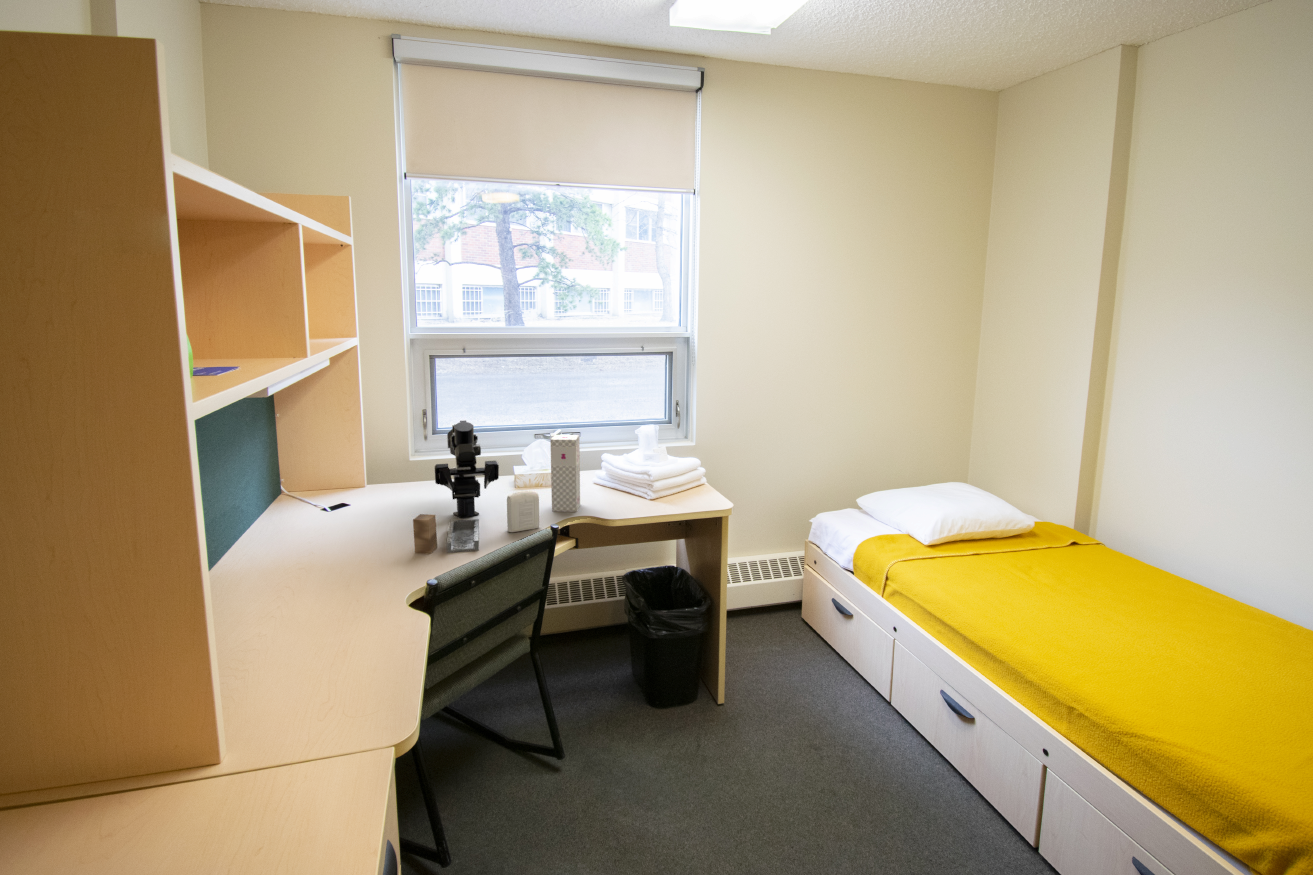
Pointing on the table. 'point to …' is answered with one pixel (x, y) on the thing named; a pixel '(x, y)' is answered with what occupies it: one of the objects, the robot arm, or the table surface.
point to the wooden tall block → (425, 533)
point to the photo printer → (522, 511)
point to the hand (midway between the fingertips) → (469, 488)
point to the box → (565, 473)
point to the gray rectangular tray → (463, 536)
